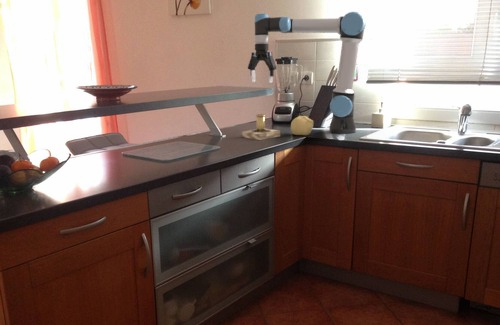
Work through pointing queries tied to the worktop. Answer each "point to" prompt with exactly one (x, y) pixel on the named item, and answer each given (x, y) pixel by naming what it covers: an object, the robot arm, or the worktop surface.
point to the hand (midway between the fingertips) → (261, 82)
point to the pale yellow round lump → (301, 125)
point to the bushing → (260, 122)
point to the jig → (260, 134)
